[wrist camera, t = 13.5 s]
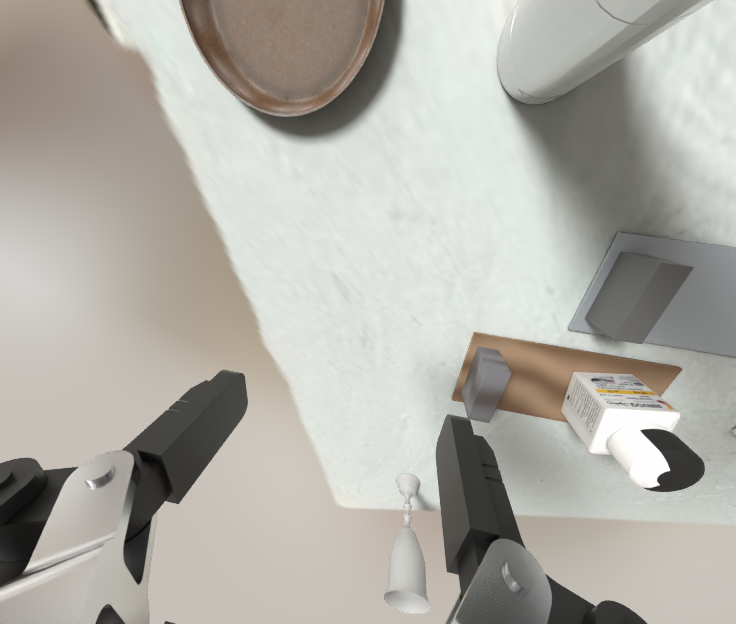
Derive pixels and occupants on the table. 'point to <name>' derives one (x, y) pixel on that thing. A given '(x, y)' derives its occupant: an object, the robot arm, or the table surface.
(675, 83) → the table surface
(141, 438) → the robot arm
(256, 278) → the table surface
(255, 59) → the plant saucer
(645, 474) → the container
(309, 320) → the table surface
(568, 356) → the brown board
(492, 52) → the table surface
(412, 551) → the chalice
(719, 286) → the grey board with block
